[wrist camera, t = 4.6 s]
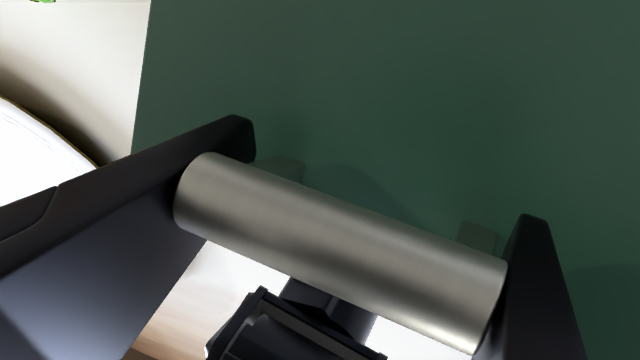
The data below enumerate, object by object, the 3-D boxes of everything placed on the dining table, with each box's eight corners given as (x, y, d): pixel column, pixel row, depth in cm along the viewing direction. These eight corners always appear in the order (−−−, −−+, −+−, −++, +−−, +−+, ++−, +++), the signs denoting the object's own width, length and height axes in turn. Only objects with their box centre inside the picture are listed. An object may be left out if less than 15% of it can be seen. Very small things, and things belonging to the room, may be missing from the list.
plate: (-117, 7, 41) (-139, 18, 40) (180, 178, 38) (164, 195, 37) (-8, 196, 65) (-20, 206, 63) (182, 312, 61) (172, 325, 60)
